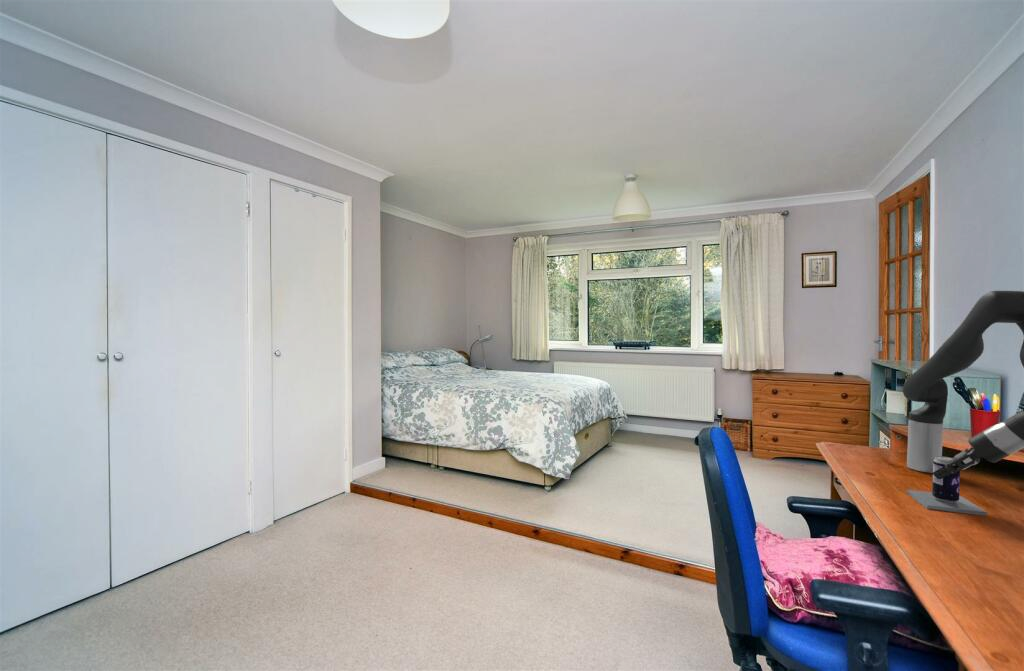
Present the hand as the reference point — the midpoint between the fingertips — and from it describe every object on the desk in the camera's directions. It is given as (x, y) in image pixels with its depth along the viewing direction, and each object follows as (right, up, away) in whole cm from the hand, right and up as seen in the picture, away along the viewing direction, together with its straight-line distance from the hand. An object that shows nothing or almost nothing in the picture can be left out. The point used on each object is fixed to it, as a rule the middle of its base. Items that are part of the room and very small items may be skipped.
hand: (938, 473), depth 136 cm
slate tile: (+1, -8, -1) cm, 8 cm away
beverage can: (+1, -7, -1) cm, 8 cm away
